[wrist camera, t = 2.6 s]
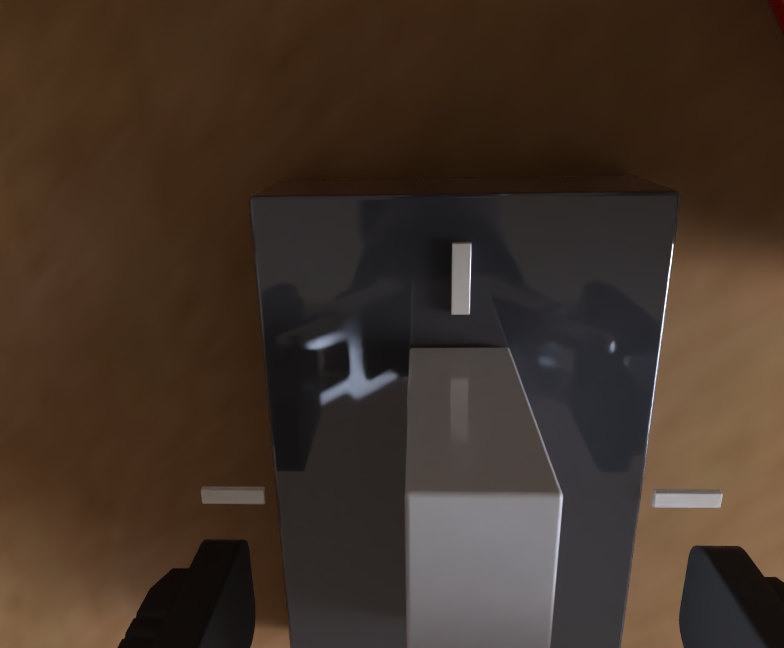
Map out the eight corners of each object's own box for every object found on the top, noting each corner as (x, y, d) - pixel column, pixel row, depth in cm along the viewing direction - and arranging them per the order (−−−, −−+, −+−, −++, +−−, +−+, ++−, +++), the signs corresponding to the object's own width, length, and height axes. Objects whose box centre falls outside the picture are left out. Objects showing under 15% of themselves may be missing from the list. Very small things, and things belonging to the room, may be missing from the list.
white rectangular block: (409, 346, 13) (404, 505, 8) (510, 346, 13) (569, 506, 8) (411, 621, 15) (408, 877, 10) (496, 622, 15) (536, 881, 10)
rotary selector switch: (204, 181, 14) (159, 198, 12) (713, 173, 14) (778, 190, 11) (256, 631, 19) (231, 715, 16) (644, 637, 18) (680, 724, 16)
